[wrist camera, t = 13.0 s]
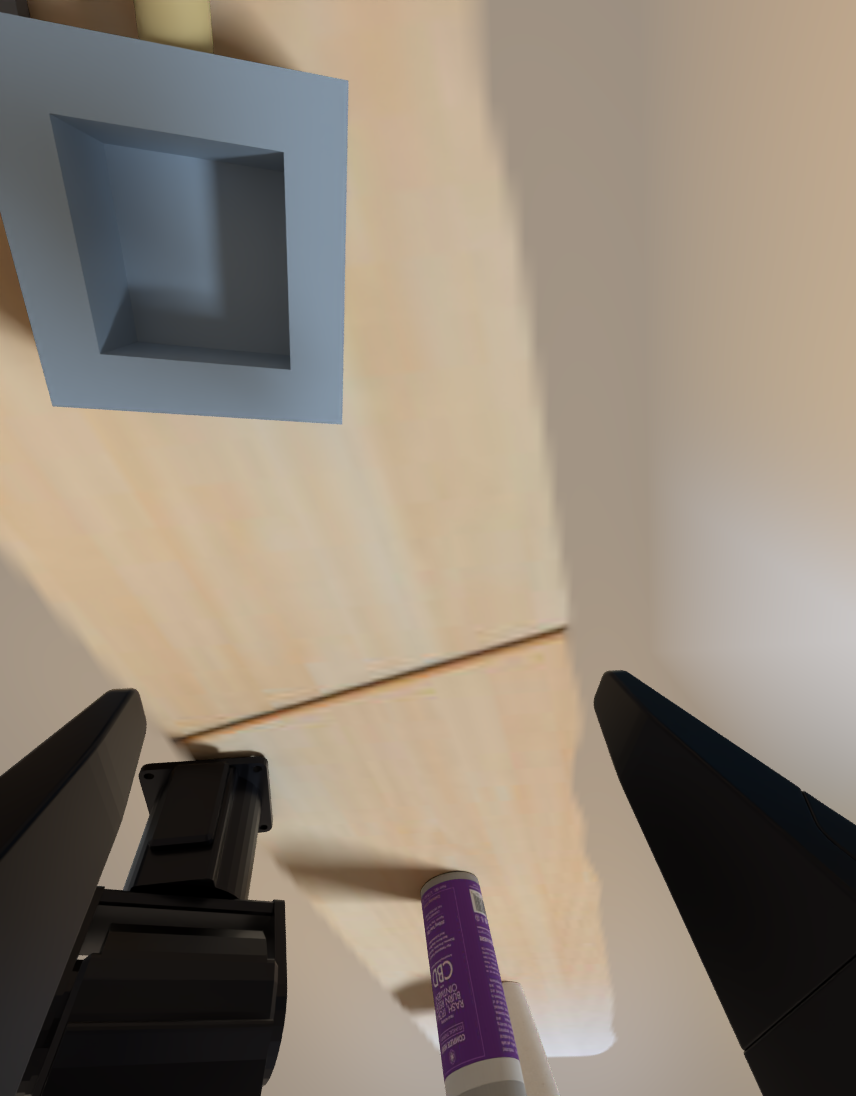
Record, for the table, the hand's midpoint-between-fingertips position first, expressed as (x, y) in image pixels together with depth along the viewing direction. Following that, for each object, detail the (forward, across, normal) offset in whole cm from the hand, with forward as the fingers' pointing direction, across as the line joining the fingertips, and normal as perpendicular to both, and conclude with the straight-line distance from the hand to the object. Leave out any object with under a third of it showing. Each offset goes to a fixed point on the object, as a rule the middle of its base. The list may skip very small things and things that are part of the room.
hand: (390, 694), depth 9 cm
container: (+12, -8, +34) cm, 37 cm away
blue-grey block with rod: (+12, +5, -11) cm, 17 cm away
